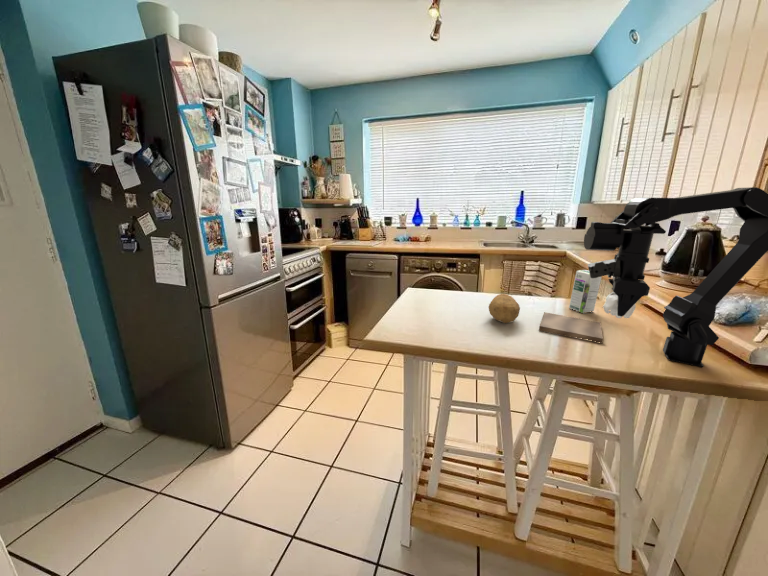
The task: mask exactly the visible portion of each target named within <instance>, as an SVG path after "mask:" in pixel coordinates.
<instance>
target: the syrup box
mask: <svg viewBox="0 0 768 576" xmlns="http://www.w3.org/2000/svg"><path fill="white" fill-rule="evenodd" d="M602 278H603V276H600V277H598V278H591V277H590V273H589V269H588V270H587V269H579V270H576V272H575V277H574V280H573V287H572V291H571V296H570V302H569V306H568V309H569V308H571V309H570V310H572V309H573V310H572V311H574V310H576V311H575V312H577V311H579V312H581V313H583V314H585V313H584V312H590V311H594V312H595V307H596V303H597V299H598V294H599V290H600V285H601V282H602ZM579 312H578V313H579ZM581 313H580V314H581Z"/></svg>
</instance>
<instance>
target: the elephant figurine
mask: <svg viewBox="0 0 768 576" xmlns="http://www.w3.org/2000/svg"><path fill="white" fill-rule="evenodd" d="M617 306H618V296H617V295H616V294H615V293H614V292H613V291H612V292H610V293H609V294H608V295H607V296H606V298H605V302H604V304H603V305H602V307H601V308H602V309H603V311H604V312H605V313H606V314H610V315H611V316H614V317H615V318H617V319H622V318H624V319H629V318H631V316H632V315H633V314H634V311H635V310H636V303H635V304H634V305H633V306H632V307H631V308H630V309H629V311H628V312H627V313H626V314H625V315H624V316H618V315H617Z"/></svg>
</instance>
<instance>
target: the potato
mask: <svg viewBox="0 0 768 576" xmlns="http://www.w3.org/2000/svg"><path fill="white" fill-rule="evenodd" d="M520 309H521V307H520V304H519V302H517V300H516V299H515V298H514V297H512V296H511V295H509V294H506V293H500V294H497V295H495V296H494V297H493V299H492V300H491V301H490V303H488V311H489V314H490V315H491V316H492V317H493V318H494V319H495V320H496V321H498V322H501V323H503V324H509V323H512V322H514V321H515V320H516V319H517V318H519V315H520Z"/></svg>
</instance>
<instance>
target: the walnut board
mask: <svg viewBox="0 0 768 576" xmlns="http://www.w3.org/2000/svg"><path fill="white" fill-rule="evenodd" d="M539 330H540V331H541V332H544V331H545V332H544V333H549V332H550V333H549V334H554V335H558V334H560V335H559V336H563V335H566V336H565V337H568V336H571V337H570V338H573V337H577V338H576V339H578V338H582V339H588V340H592V341H596V342H595V343H597V342H600V343H599V344H602V343H603V340H604V337H603V331H602V324H601V322H600V321H595V320H589V319H585V318H580V317H579V318H578V317H575V316H574V317H572V316H567V315H562V314H557V313H551V312H546V311H545V312H543V315H542V317H541V321H540V323H539V327H538V331H539ZM582 339H581V340H582ZM592 341H591V342H592Z"/></svg>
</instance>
